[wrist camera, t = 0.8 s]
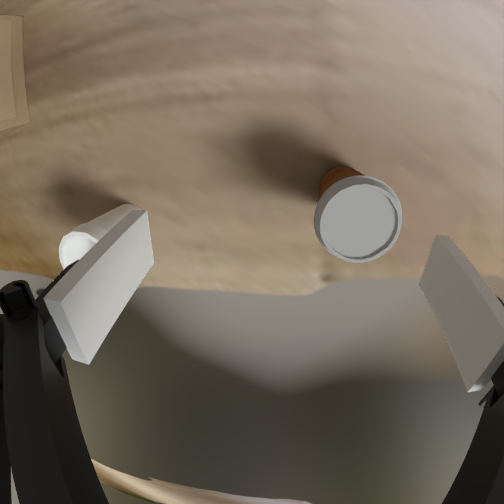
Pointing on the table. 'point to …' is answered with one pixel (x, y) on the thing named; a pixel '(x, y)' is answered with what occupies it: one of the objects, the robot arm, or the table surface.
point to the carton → (12, 75)
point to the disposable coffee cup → (356, 215)
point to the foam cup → (90, 234)
